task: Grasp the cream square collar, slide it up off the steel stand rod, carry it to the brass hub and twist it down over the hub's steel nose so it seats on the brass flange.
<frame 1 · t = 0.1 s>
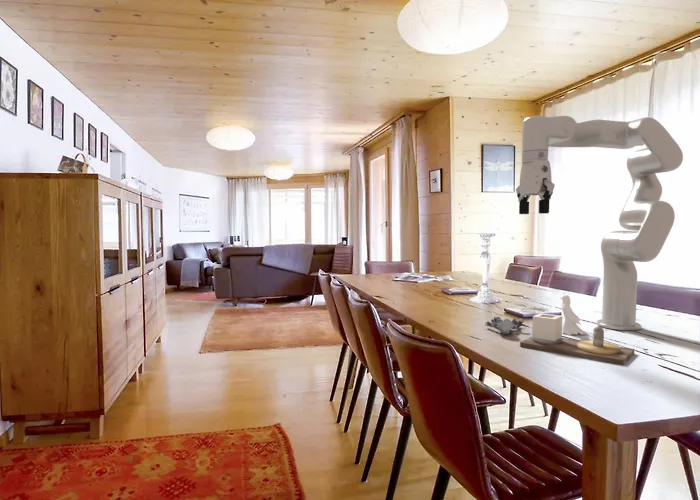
hand: (533, 213, 140), 37 cm above the table, tool pointing down, fingers open, 9 cm apart
workboard: (575, 349, 122), on the table
figurine: (573, 334, 140), on the table
collar: (547, 337, 127), point 2 cm above the table, touching workboard
toy: (505, 332, 144), on the table
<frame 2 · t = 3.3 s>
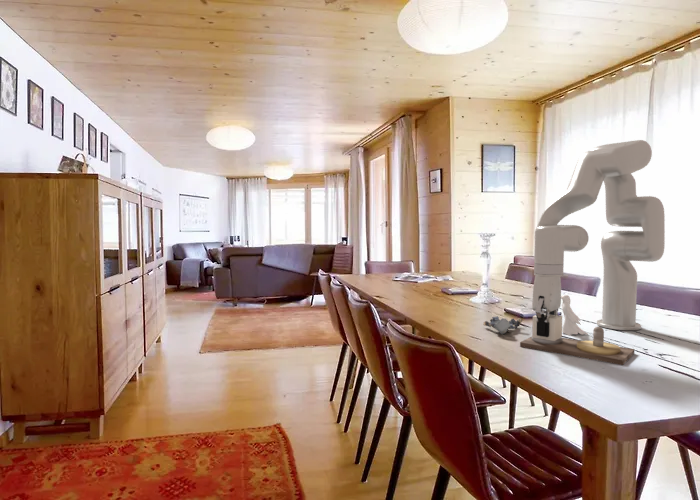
hand: (547, 333, 127), 3 cm above the table, tool pointing down, fingers closed on collar, 6 cm apart
collar: (547, 337, 127), point 2 cm above the table, touching gripper, workboard
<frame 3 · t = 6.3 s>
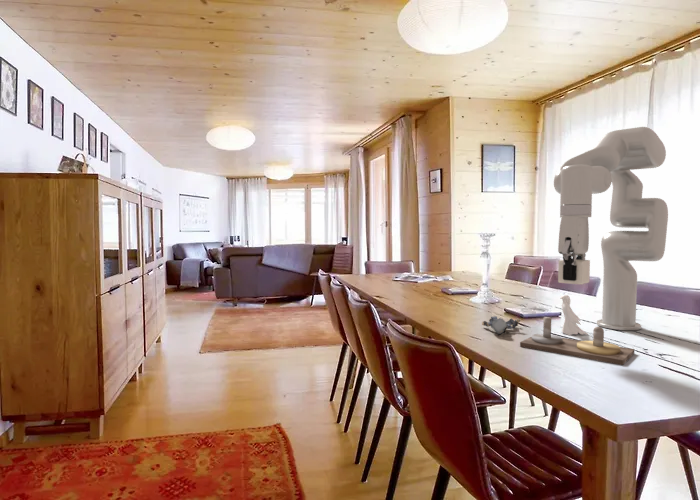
hand: (574, 278, 122), 19 cm above the table, tool pointing down, fingers closed on collar, 6 cm apart
collar: (573, 282, 122), point 18 cm above the table, touching gripper
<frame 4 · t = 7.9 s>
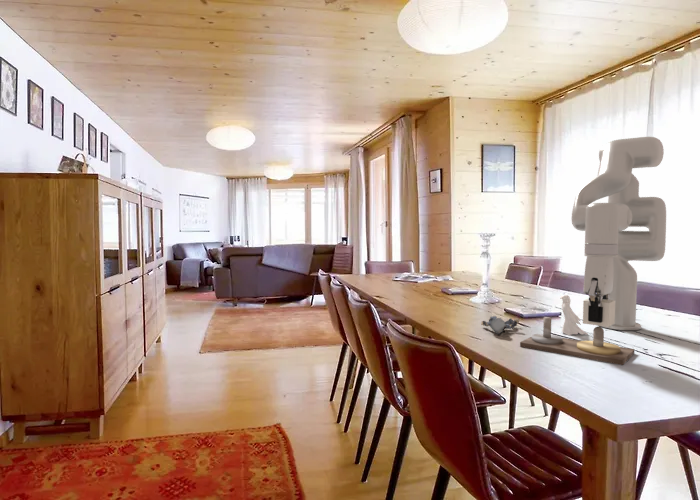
hand: (598, 319, 118), 9 cm above the table, tool pointing down, fingers closed on collar, 6 cm apart
collar: (598, 323, 118), point 8 cm above the table, touching gripper
when the fingers open (4 cm above the table, at t = 9.4 s): collar stays where it is, resting on workboard.
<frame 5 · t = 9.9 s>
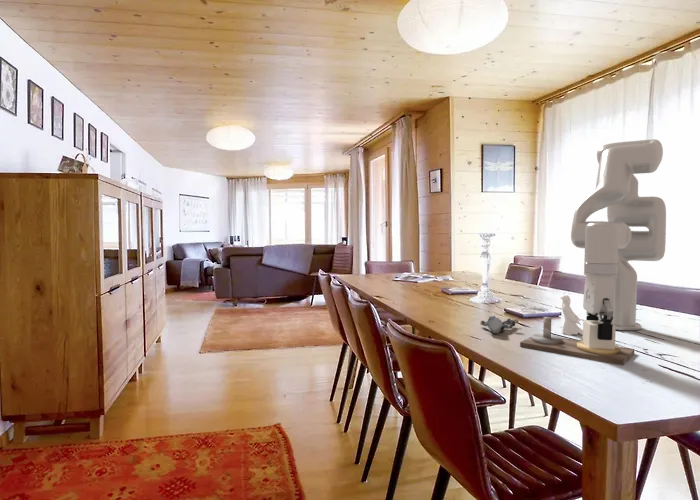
hand: (598, 335, 118), 5 cm above the table, tool pointing down, fingers open, 9 cm apart
collar: (598, 345, 118), point 2 cm above the table, touching workboard
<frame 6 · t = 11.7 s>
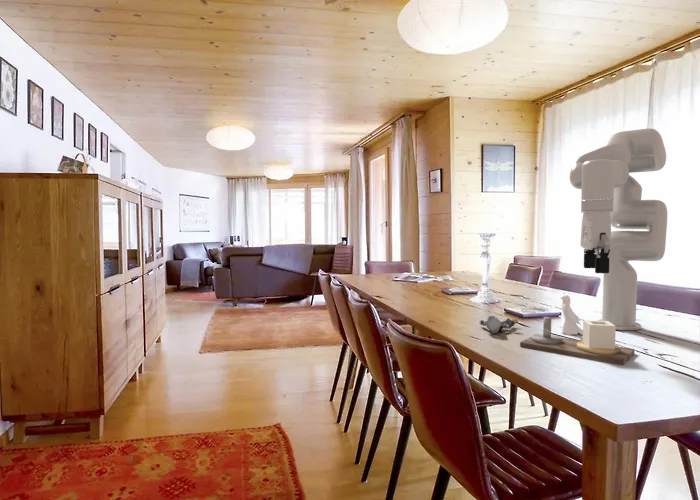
hand: (595, 270, 122), 21 cm above the table, tool pointing down, fingers open, 9 cm apart
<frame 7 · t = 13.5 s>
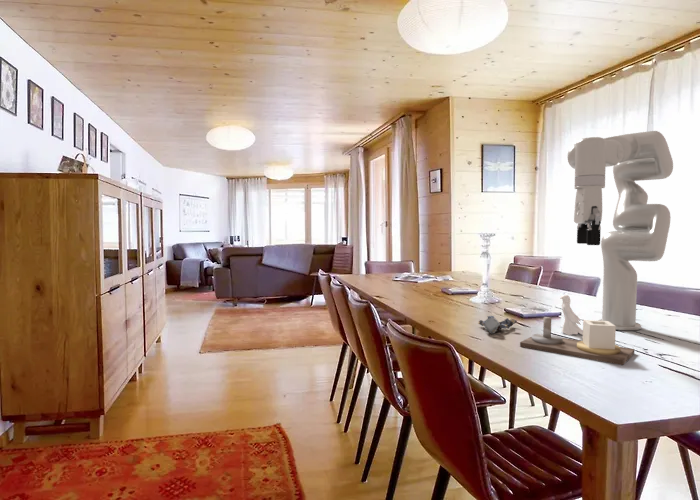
hand: (587, 244, 127), 28 cm above the table, tool pointing down, fingers open, 9 cm apart
at the end: collar 0.1 cm from the target spot, point 2.2 cm above the table; collar tilted 0°; the gripper is holding nothing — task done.
